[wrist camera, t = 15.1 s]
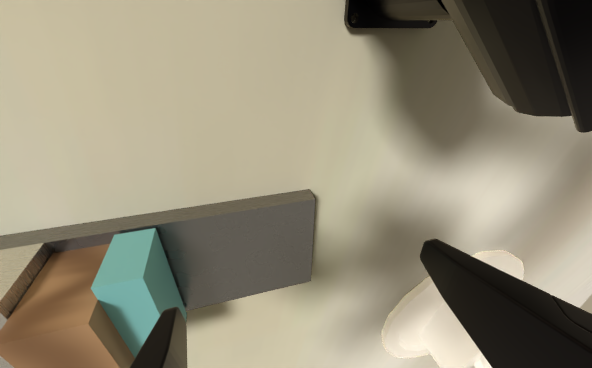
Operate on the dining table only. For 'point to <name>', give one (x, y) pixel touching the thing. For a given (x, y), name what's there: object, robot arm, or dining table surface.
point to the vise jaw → (136, 285)
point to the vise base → (187, 248)
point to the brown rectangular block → (64, 319)
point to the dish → (439, 322)
